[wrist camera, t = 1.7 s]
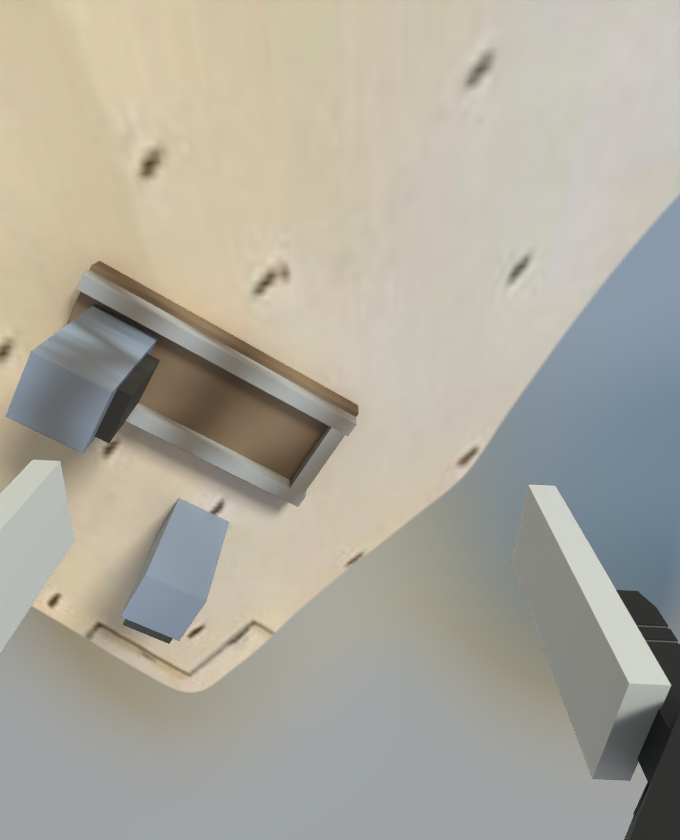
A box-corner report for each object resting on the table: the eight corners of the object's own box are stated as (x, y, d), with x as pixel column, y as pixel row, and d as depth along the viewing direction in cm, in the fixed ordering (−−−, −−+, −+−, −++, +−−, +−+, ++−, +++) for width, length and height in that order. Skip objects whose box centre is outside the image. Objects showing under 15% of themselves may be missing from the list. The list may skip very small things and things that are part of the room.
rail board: (54, 368, 38) (-26, 437, 30) (99, 260, 35) (23, 304, 26) (298, 491, 42) (287, 581, 34) (358, 405, 39) (361, 481, 31)
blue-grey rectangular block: (152, 543, 44) (115, 624, 37) (179, 498, 42) (145, 574, 35) (200, 565, 45) (174, 648, 38) (228, 521, 43) (206, 601, 36)
